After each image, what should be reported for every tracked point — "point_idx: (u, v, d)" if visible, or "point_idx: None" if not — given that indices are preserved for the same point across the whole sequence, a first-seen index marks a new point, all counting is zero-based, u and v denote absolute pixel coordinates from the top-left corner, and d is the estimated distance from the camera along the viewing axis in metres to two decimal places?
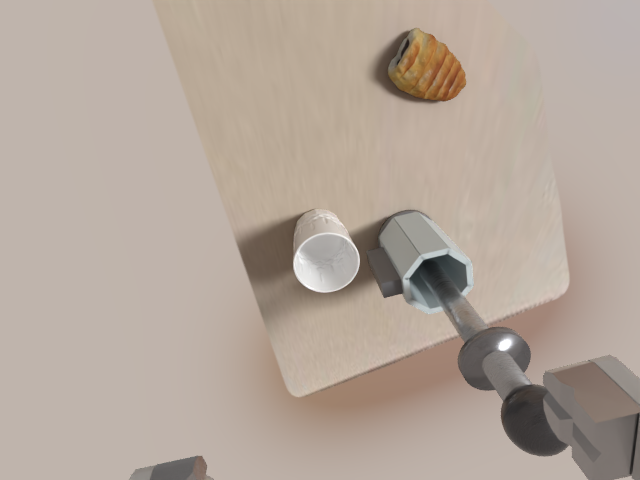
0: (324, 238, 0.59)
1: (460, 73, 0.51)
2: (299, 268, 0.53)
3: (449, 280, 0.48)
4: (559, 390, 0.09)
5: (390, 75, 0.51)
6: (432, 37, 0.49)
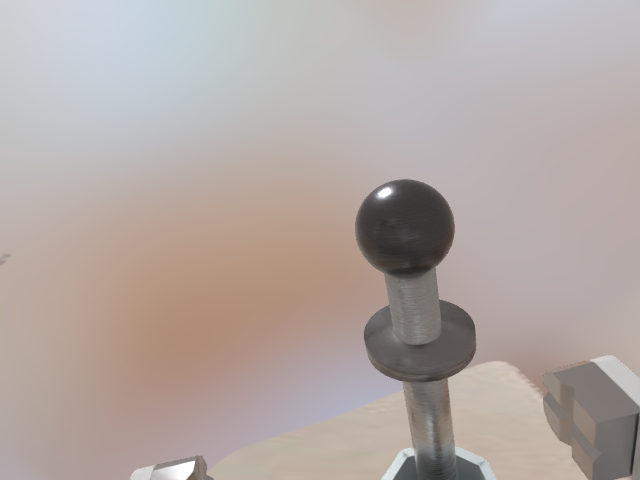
0: None
1: None
2: None
3: None
4: (559, 390, 0.09)
5: None
6: None
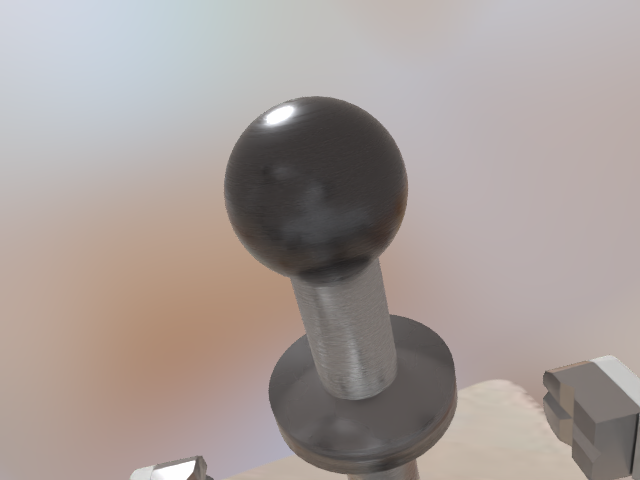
0: None
1: None
2: None
3: None
4: (559, 390, 0.09)
5: None
6: None
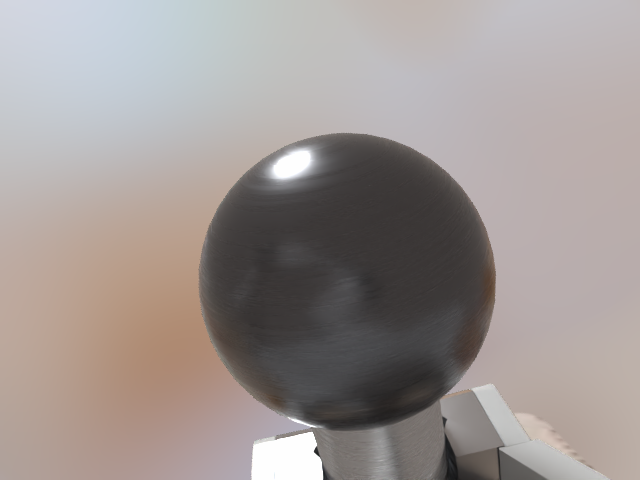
0: None
1: None
2: None
3: None
4: None
5: None
6: None
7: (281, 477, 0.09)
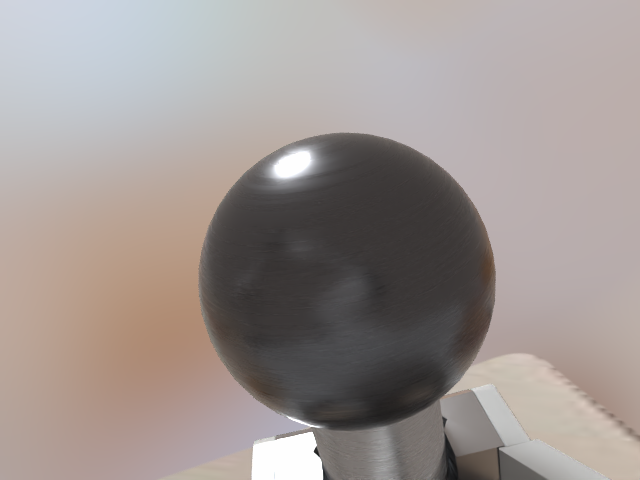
0: None
1: None
2: None
3: None
4: None
5: None
6: None
7: (281, 477, 0.09)
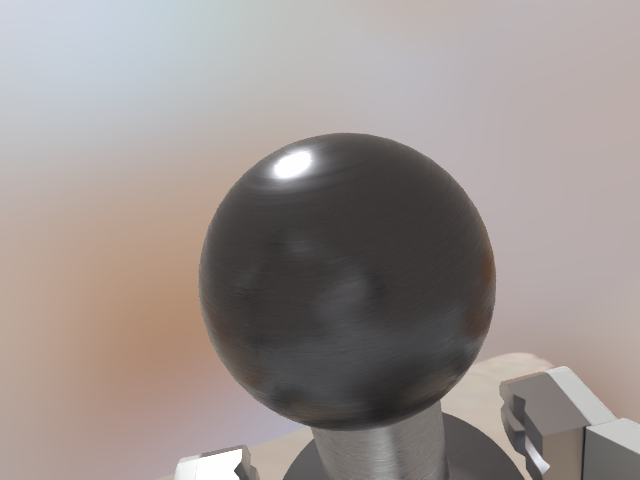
0: None
1: None
2: None
3: None
4: (512, 401, 0.09)
5: None
6: None
7: None
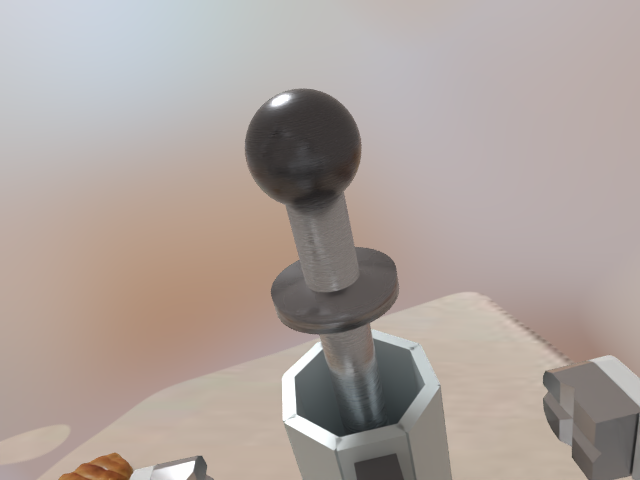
0: None
1: None
2: None
3: None
4: (559, 390, 0.09)
5: None
6: None
7: None
